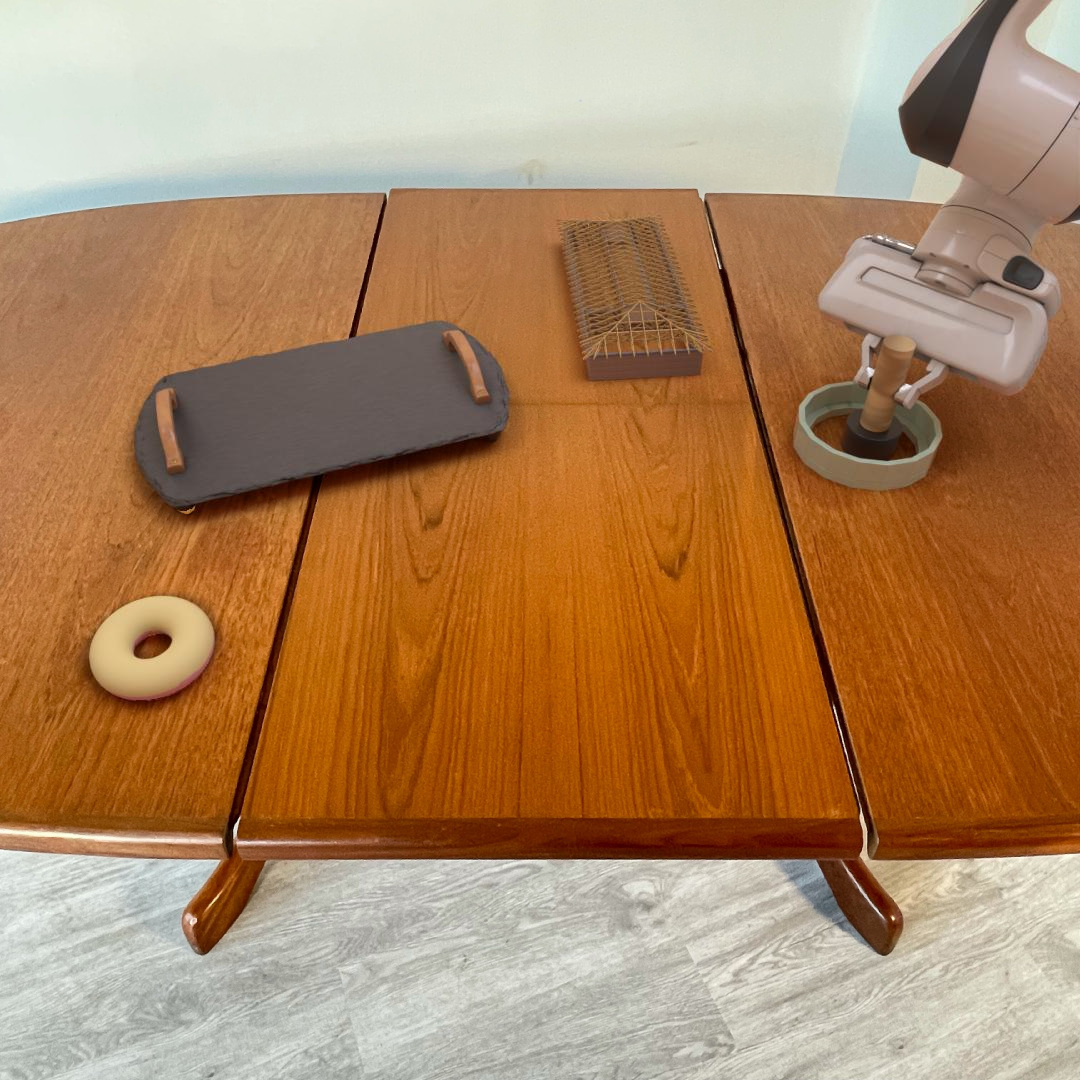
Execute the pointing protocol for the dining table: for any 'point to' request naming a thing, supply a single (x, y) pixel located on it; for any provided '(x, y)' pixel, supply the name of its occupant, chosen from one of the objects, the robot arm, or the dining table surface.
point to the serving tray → (317, 411)
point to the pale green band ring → (859, 471)
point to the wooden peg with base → (880, 404)
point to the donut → (160, 673)
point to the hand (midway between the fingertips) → (881, 395)
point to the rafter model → (636, 314)
